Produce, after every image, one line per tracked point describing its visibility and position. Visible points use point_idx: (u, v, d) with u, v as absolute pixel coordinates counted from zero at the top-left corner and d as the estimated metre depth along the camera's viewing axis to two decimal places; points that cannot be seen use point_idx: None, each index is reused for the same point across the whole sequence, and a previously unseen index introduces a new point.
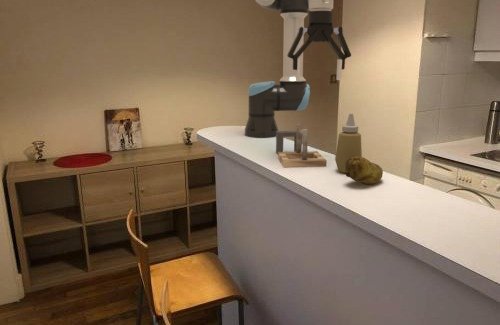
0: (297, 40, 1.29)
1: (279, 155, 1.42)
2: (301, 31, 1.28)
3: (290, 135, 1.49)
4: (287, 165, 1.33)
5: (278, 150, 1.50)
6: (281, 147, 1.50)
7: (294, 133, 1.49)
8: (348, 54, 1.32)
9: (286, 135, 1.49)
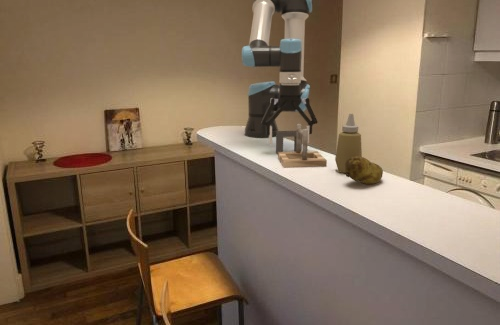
0: (269, 110, 1.46)
1: (279, 155, 1.42)
2: (272, 102, 1.46)
3: (290, 135, 1.49)
4: (287, 165, 1.33)
5: (278, 150, 1.50)
6: (281, 147, 1.50)
7: (294, 133, 1.49)
8: (315, 121, 1.49)
9: (286, 135, 1.49)
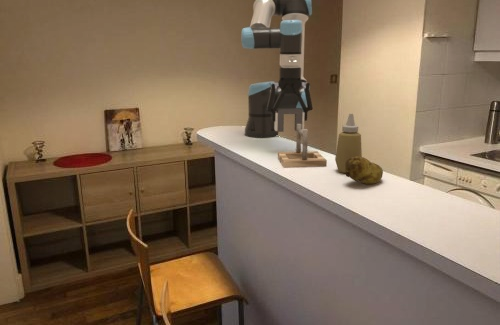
0: (272, 95, 1.46)
1: (279, 155, 1.42)
2: (273, 87, 1.45)
3: (290, 112, 1.48)
4: (287, 165, 1.33)
5: (278, 128, 1.49)
6: (281, 125, 1.49)
7: (295, 110, 1.48)
8: (310, 107, 1.48)
9: (286, 112, 1.48)
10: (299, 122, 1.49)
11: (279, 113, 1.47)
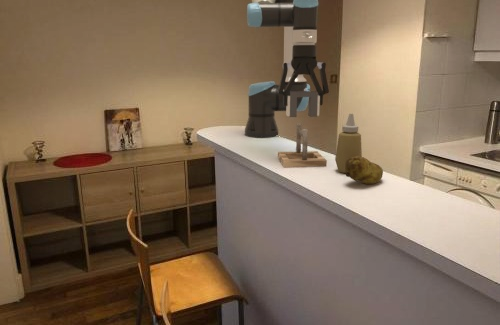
0: (284, 76, 1.31)
1: (279, 155, 1.42)
2: (285, 67, 1.30)
3: (304, 95, 1.33)
4: (287, 165, 1.33)
5: (291, 112, 1.34)
6: (294, 109, 1.34)
7: (309, 93, 1.33)
8: (326, 90, 1.33)
9: (300, 95, 1.33)
10: (314, 106, 1.34)
11: (292, 96, 1.33)
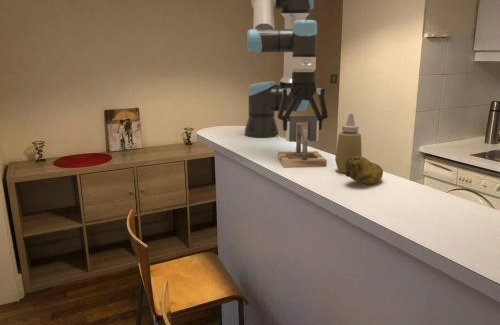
0: (283, 102, 1.33)
1: (279, 155, 1.42)
2: (285, 93, 1.32)
3: (304, 120, 1.35)
4: (287, 165, 1.33)
5: (290, 137, 1.36)
6: (294, 134, 1.36)
7: (308, 118, 1.35)
8: (325, 115, 1.35)
9: (299, 120, 1.35)
10: (313, 131, 1.36)
11: (291, 121, 1.35)
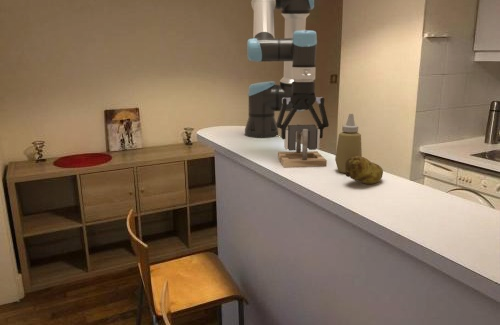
0: (282, 111, 1.34)
1: (279, 155, 1.42)
2: (285, 102, 1.33)
3: None
4: (287, 165, 1.33)
5: (290, 146, 1.37)
6: (293, 143, 1.37)
7: (308, 127, 1.36)
8: (326, 124, 1.36)
9: (299, 129, 1.36)
10: (313, 140, 1.37)
11: (291, 130, 1.36)
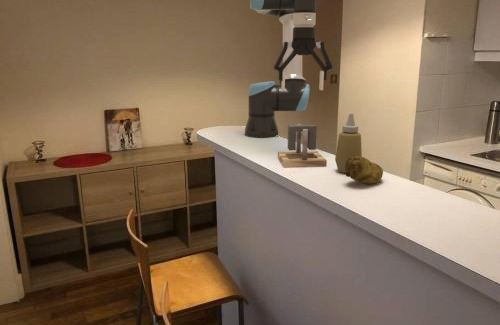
0: (282, 54, 1.40)
1: (279, 155, 1.42)
2: (286, 45, 1.40)
3: None
4: (287, 165, 1.33)
5: (290, 146, 1.37)
6: (293, 143, 1.37)
7: (308, 127, 1.36)
8: (329, 66, 1.43)
9: (299, 129, 1.36)
10: (313, 140, 1.37)
11: (291, 130, 1.36)
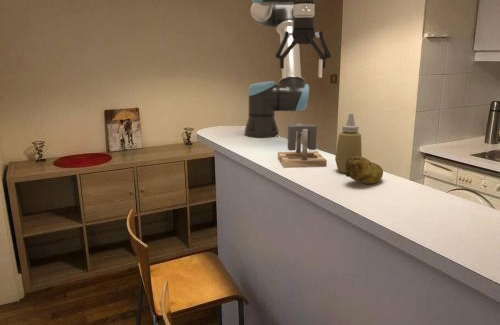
0: (283, 43, 1.49)
1: (279, 155, 1.42)
2: (287, 35, 1.48)
3: None
4: (287, 165, 1.33)
5: (290, 146, 1.37)
6: (293, 143, 1.37)
7: (308, 127, 1.36)
8: (328, 55, 1.51)
9: (299, 129, 1.36)
10: (313, 140, 1.37)
11: (291, 130, 1.36)
